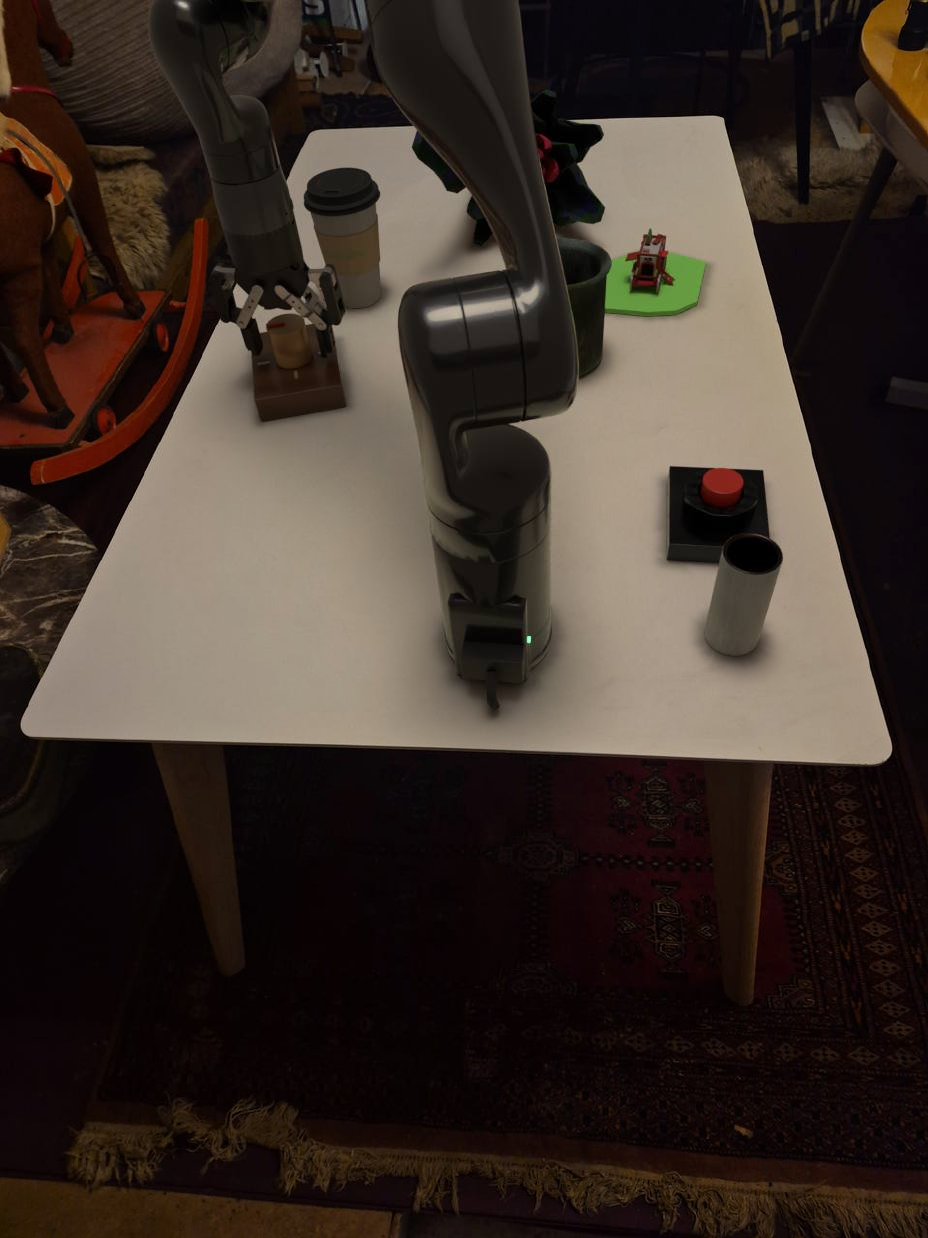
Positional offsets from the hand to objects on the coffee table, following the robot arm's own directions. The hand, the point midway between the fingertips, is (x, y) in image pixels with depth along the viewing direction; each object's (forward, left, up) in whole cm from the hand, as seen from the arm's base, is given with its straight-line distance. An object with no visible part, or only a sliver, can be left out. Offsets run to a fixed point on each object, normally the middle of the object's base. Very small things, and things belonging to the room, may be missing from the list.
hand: (292, 352), depth 101 cm
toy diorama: (+23, -40, -4) cm, 46 cm away
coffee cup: (+19, -3, -4) cm, 20 cm away
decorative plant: (+36, -23, -4) cm, 43 cm away
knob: (0, 0, -1) cm, 1 cm away
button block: (-21, -48, -4) cm, 53 cm away
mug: (+6, -29, -4) cm, 30 cm away
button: (-21, -48, 0) cm, 52 cm away
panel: (0, 0, -4) cm, 4 cm away
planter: (-35, -49, -4) cm, 60 cm away
